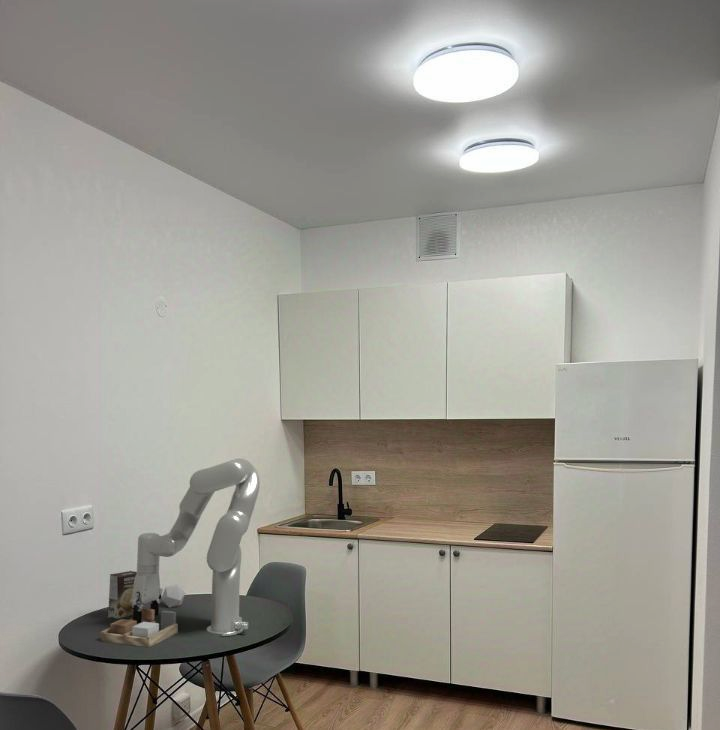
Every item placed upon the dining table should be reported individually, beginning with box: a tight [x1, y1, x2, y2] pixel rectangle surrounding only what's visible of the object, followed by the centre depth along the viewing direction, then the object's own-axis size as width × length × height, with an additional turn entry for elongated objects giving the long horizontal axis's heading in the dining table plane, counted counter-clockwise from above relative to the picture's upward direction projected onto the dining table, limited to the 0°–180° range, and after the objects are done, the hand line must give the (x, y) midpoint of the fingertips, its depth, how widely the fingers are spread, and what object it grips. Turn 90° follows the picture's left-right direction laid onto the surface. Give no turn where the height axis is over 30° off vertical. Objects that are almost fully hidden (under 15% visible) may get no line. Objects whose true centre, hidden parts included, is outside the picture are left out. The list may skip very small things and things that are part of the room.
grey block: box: [132, 610, 177, 638], centre depth 234 cm, size 6×17×6 cm, turn 161°
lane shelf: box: [100, 618, 179, 648], centre depth 236 cm, size 19×23×4 cm
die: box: [160, 583, 186, 609], centre depth 276 cm, size 8×9×10 cm
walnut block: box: [109, 607, 155, 635], centre depth 237 cm, size 6×17×6 cm, turn 161°
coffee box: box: [107, 570, 139, 619], centre depth 260 cm, size 9×6×16 cm
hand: (145, 618), depth 244 cm, fingers open, 9 cm apart
